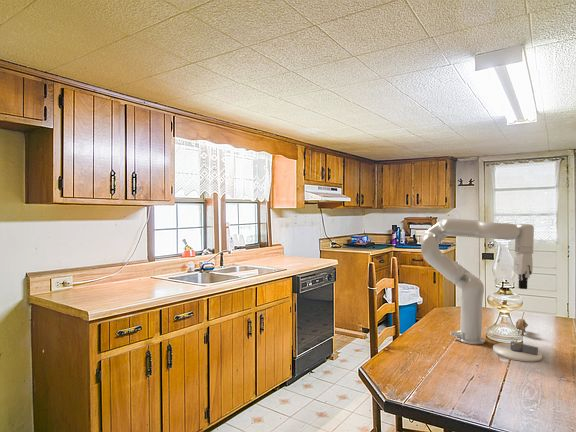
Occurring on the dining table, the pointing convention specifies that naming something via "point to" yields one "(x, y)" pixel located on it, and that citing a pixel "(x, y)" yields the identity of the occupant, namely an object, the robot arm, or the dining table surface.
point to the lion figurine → (521, 325)
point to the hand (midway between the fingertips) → (522, 288)
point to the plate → (515, 353)
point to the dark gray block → (523, 348)
